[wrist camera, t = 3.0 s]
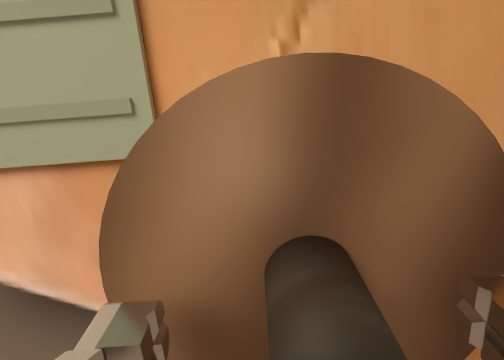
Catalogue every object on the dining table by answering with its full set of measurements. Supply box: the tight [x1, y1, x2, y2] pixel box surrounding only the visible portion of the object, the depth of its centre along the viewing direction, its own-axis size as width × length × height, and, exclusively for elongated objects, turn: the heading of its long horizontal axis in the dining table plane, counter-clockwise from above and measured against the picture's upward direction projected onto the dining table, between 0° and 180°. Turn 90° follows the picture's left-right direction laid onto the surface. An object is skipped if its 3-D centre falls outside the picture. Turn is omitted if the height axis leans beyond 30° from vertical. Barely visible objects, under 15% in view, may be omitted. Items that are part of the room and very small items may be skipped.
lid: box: [99, 53, 504, 360], centre depth 8 cm, size 13×13×5 cm
